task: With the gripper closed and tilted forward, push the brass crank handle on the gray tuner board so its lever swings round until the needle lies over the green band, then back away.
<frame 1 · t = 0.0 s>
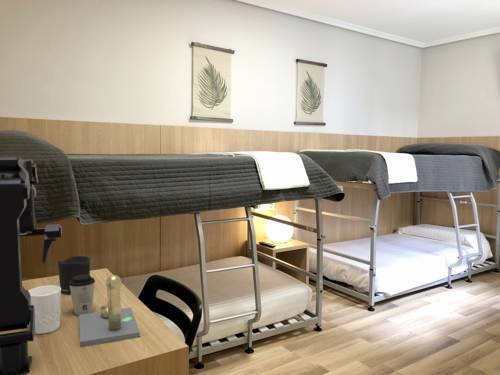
hand: (24, 264, 113), 15 cm above the table, tool pointing down, fingers open, 9 cm apart
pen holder: (75, 290, 136), on the table
white cup: (45, 329, 108), on the table
gray tuner board: (108, 327, 108), on the table
brass crank handle: (111, 295, 108), point 8 cm above the table, hinge at 0.0°
coffee cup: (83, 312, 118), on the table
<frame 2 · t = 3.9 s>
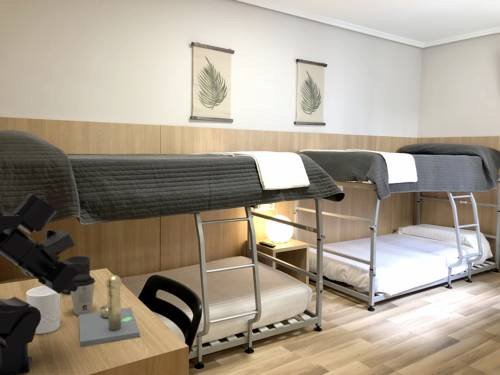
hand: (76, 289, 97), 13 cm above the table, tool tilted 45°, fingers closed
nothing on the table moved.
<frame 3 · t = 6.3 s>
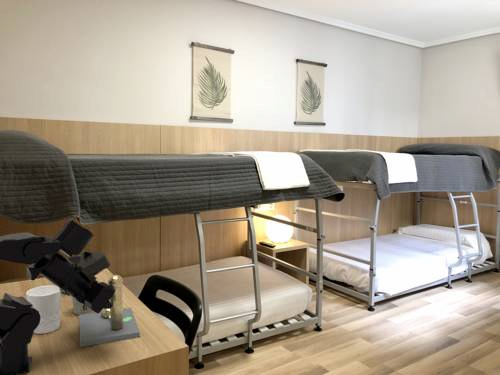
hand: (110, 307, 103), 7 cm above the table, tool tilted 45°, fingers closed, pressing on brass crank handle
brass crank handle: (112, 295, 108), point 8 cm above the table, hinge at 3.0°, touching gripper
everything else where it was.
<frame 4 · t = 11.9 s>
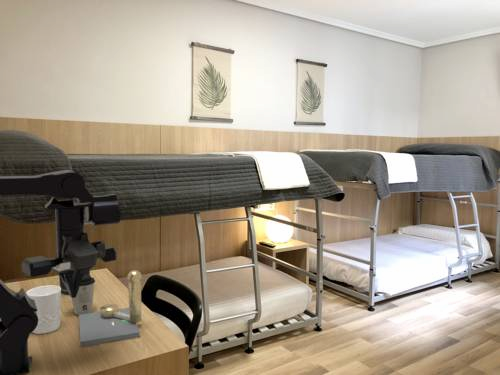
hand: (73, 297, 93), 13 cm above the table, tool pointing down, fingers closed
brass crank handle: (121, 292, 110), point 8 cm above the table, hinge at 36.9°
everything else where it was.
at the end: brass crank handle at +37° (first picture: +0°); the gripper is holding nothing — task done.
